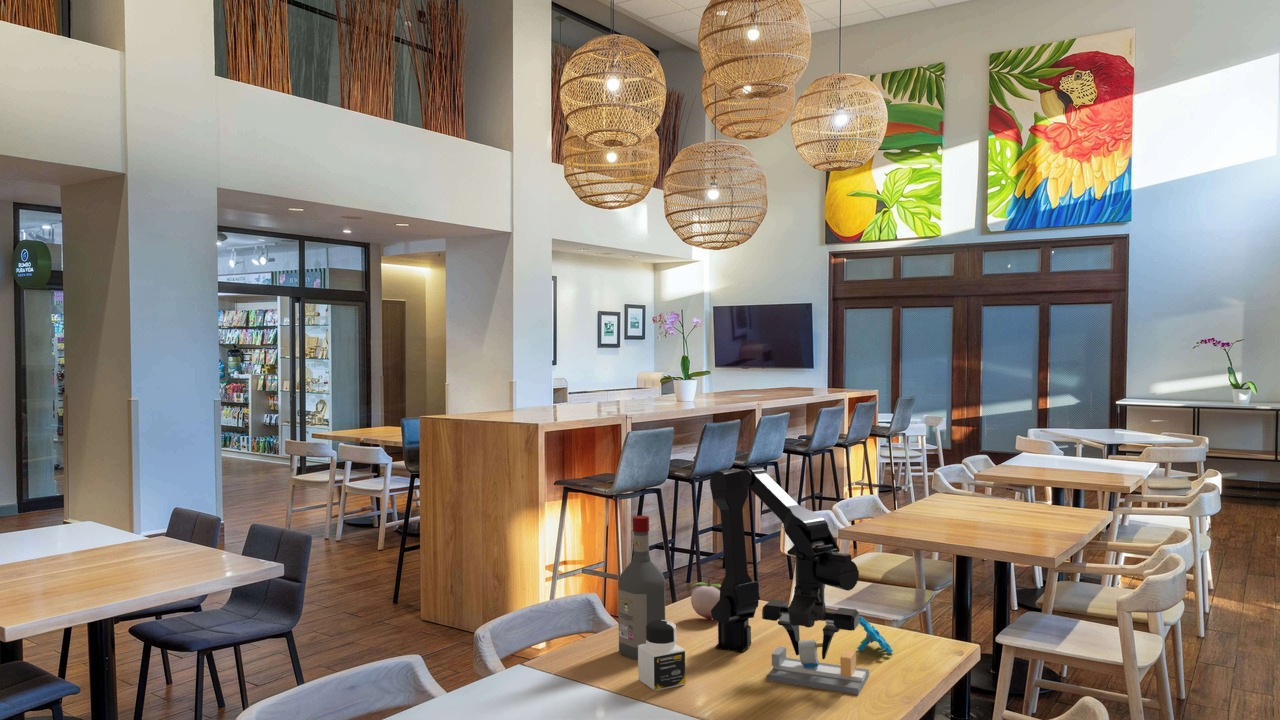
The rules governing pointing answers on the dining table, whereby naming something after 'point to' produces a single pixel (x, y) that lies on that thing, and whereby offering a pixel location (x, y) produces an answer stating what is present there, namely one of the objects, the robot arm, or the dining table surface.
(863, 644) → the gear
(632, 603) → the liquor
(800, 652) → the electric motor
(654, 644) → the medicine bottle
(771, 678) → the rail
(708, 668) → the dining table surface
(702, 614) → the decorative fruit
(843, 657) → the tall tan wooden block
